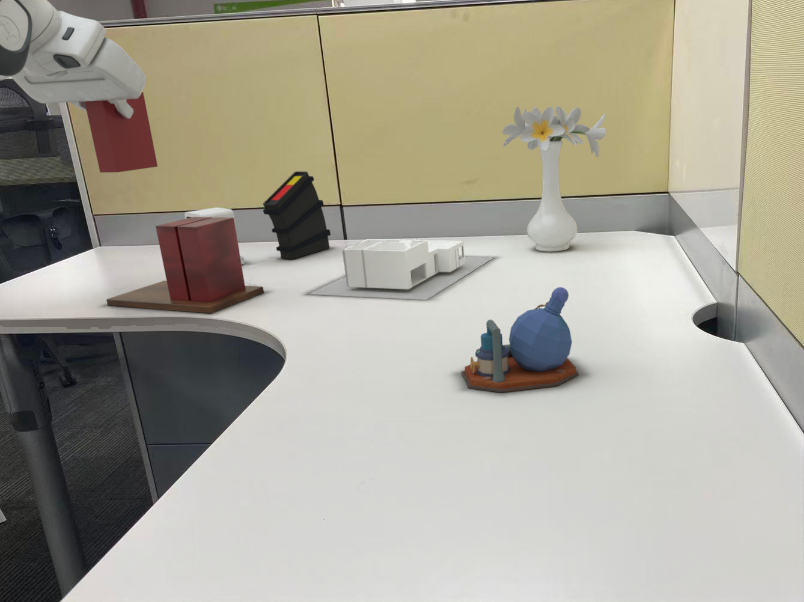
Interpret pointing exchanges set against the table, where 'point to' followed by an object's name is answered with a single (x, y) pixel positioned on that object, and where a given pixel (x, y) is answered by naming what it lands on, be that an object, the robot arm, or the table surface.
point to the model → (525, 351)
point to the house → (401, 268)
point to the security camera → (213, 213)
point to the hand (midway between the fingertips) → (116, 115)
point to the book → (121, 136)
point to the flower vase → (552, 169)
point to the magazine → (297, 217)
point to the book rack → (195, 269)
